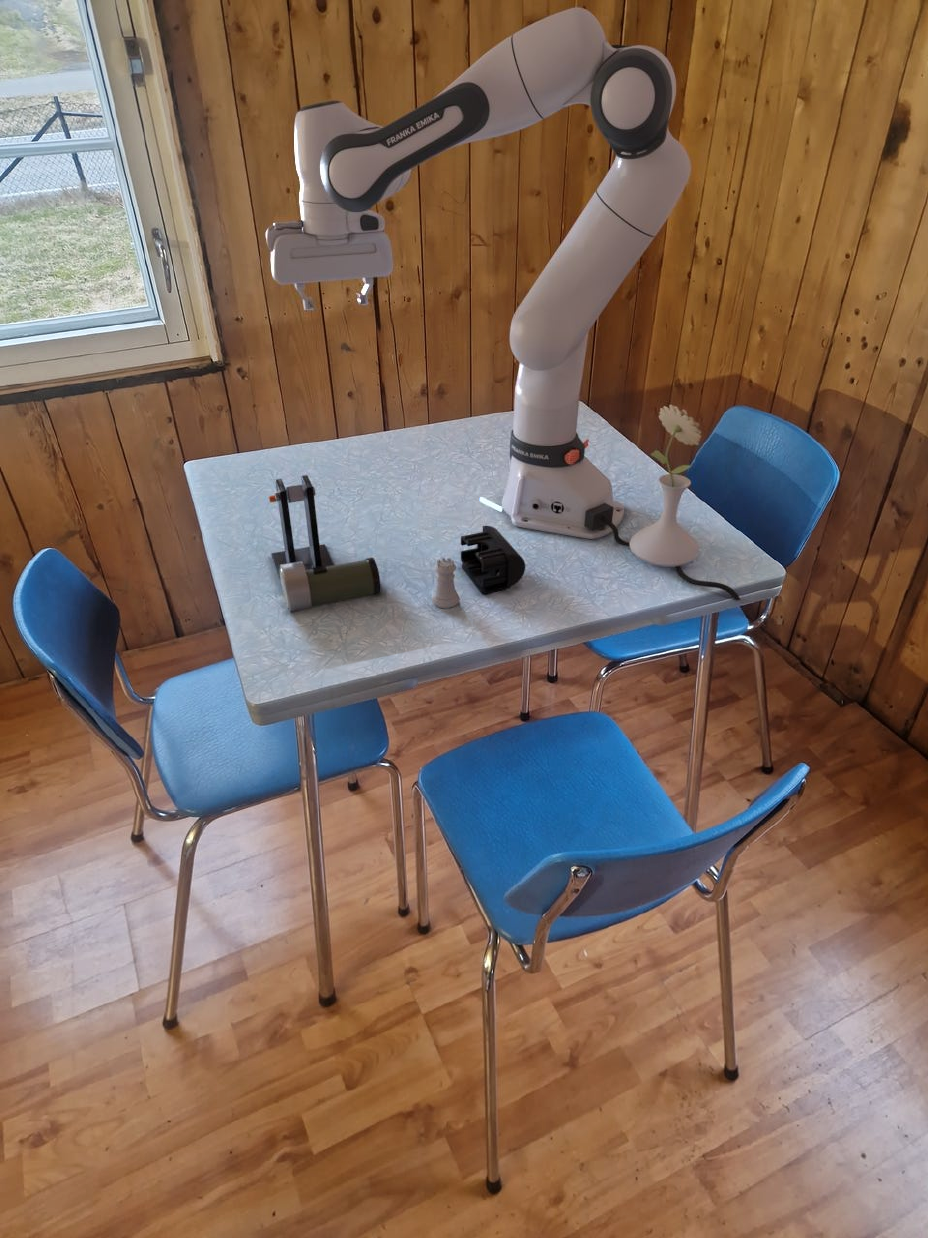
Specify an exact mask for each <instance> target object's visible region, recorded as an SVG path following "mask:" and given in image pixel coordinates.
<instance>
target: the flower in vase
mask: <svg viewBox="0 0 928 1238" xmlns="http://www.w3.org/2000/svg"><path fill="white" fill-rule="evenodd" d="M659 410H660V411H659V413H658V414H659V415H658V419H659V421H661V424H662V426H663V427H664V428H665V430H666V432H668V433H669V434H670V436H671V437H670V440H669V442H668V444H667V447H666V451H665V455H663V453H661V452H660V450H657V449H655V450H654V451H653V452H651V453H650V456H651V457H653V458H655V459H656V460H657V461H659V462H660V463H661V464H662V465H666V467H667V469H668V472H669V474H668V473H667V474H663V475H661V476H660V477H658V482H659V484H660V486H661V488H662V491H663V507H662V513H661V516H660V518H659V519H658V521H656V522H654V523H652V524H648V525H647V526H644V527H642V528H640V529H639V530H637V531H636V532H635V533H633V535H632V536H631V538H630V540H629V542H628V543H629V545H630V546H629V548H630V550H631V552H632V553H633V555H634V556H635V557H636V558H637V559H639V560H641V561H642V562H645V563H648V564H650V565H654V566H658V567H667V568H671V567H672V568H675V566H680V567H681V566H685V565H687V564H689V563H692V561H694V560H695V559H697V557H698V555H699V554H700V549H699V544H698V542H697V541H696V539H695V537H693V535H692V534H691V533H689V532H688V531H687V530H686V529H685V528H683V526H681V525H680V524H679V523H678V521H677V514H678V507H679V505H680V500H681V498H682V496H683V494H684V492H685V491H686V490H687V489H689V487H690V486H691V484H692V481H691V479H689V478H688V477H686V476H684V475H681V474H680V473H683V472H685V471H687V470H688V469H690V467H691V466H692V464H691V465H689V464H682V465H679V466H677V467H675V468H674V469H672V470H671V466H670V463H669V457H668V456H669V450H670V448H671V445H672V442H673V440H674V438H676V440H677V441H678V442H679V443H683V444H684V445H686V446H688V445H689V446H695V445H696V446H699V445H700V443H699V442H701V439H702V430H700V429H698V428H699V427H700V423H699V422H697V421H695V420H694V418H693V417H692V416H688V411H687V410H686V409H682V410H679V407H678V406H676V405H675V406H674V405H673V404H669V407H668V406H666V405H664V406H663V407H660V408H659Z"/></svg>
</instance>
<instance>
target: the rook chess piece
mask: <svg viewBox="0 0 928 1238" xmlns="http://www.w3.org/2000/svg"><path fill="white" fill-rule="evenodd" d="M433 569H434V571H435V572H436V575H435V577H436V581H437V582H436V588H435V591H434V593H433V594H432V596H431V602H432V604H434V605H435V606H436V607H437V608H440V609H451V608H453V607H455V606H457V605H459V606H461V602H460V601H461V598H460V595H459V593H458V591H457V590H456V588H455V582H454V581H455V580H454V579H455V577H456V575H455V574H454V572H455V571H456V570H457V565H456V564H455V561H454V560H453V559H452V558H450V557H447V559H446V557H441V558H440V559H439V558H438V559H437V560H436V564H435V565H434V568H433Z"/></svg>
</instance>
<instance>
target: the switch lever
mask: <svg viewBox="0 0 928 1238" xmlns="http://www.w3.org/2000/svg"><path fill="white" fill-rule="evenodd" d="M285 489H286V491H287V499H288V504H292V503H299V502H304V500H305V498H304V493H303V488H302V484H297V485H290V486H285ZM268 500H269V503H276V502H277V503H278V501H276V499H275V494H274V495H269V496H268Z"/></svg>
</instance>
